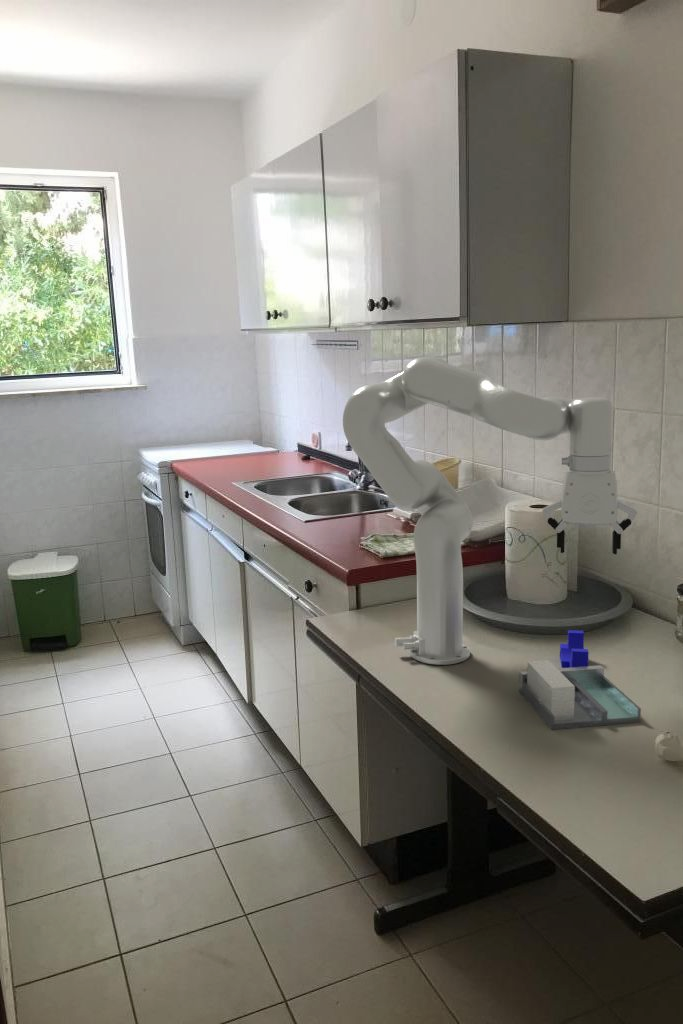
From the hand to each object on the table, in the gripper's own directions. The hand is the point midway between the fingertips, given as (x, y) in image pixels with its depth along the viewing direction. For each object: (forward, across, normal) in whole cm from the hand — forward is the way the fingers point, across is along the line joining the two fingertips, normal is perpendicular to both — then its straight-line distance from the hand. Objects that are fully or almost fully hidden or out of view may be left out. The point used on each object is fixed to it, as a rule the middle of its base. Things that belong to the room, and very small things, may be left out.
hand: (588, 552), depth 161 cm
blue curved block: (+25, -2, +2) cm, 25 cm away
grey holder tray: (+25, -2, -16) cm, 30 cm away
